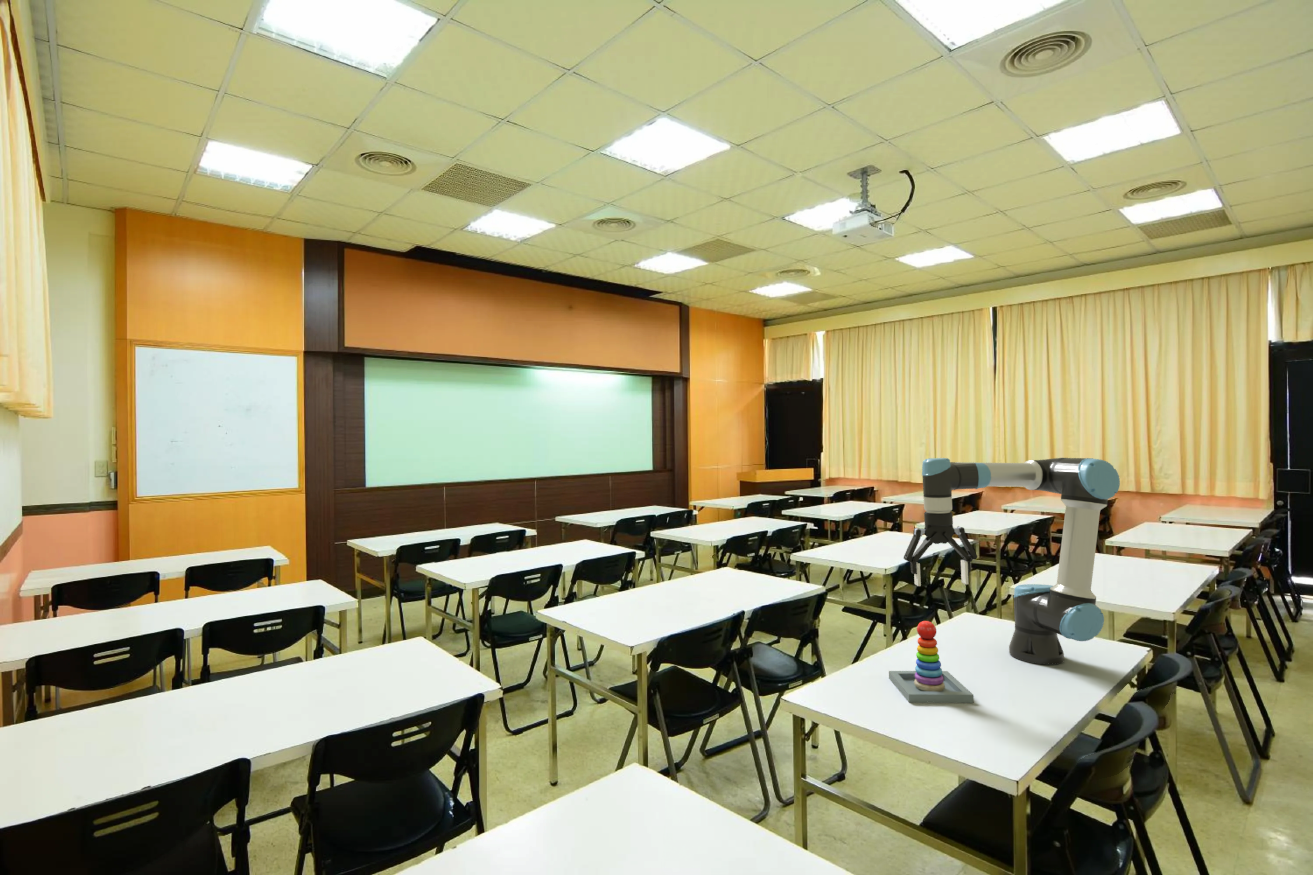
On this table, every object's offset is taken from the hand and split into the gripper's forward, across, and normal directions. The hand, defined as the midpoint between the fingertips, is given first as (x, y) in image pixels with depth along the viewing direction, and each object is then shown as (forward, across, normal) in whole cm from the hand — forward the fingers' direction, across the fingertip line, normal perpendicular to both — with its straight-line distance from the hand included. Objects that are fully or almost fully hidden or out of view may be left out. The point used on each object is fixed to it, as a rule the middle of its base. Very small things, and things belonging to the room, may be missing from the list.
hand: (941, 584), depth 180 cm
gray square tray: (+28, +7, +5) cm, 30 cm away
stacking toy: (+28, +7, +5) cm, 29 cm away
